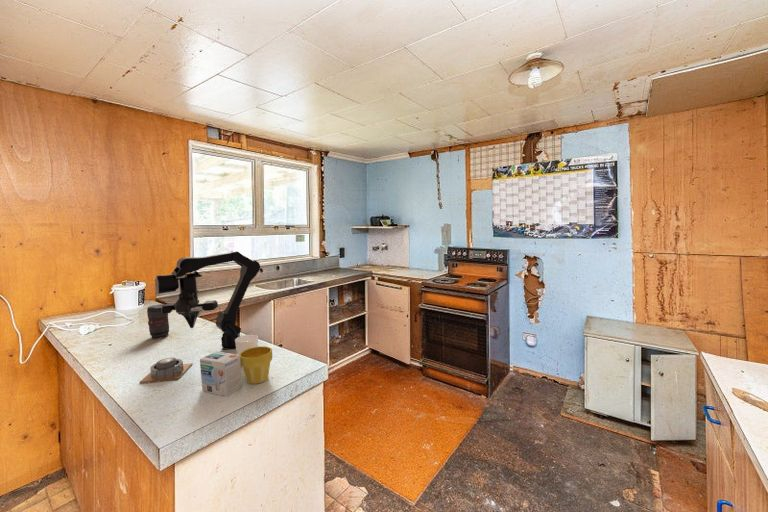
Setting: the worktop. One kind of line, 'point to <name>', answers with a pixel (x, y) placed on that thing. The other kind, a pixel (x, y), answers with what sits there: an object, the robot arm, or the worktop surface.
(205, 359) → the light bulb box
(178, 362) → the ring mount
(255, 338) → the white cup
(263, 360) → the plant pot
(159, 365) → the gray tapered cylinder
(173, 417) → the worktop surface
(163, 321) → the camera lens
